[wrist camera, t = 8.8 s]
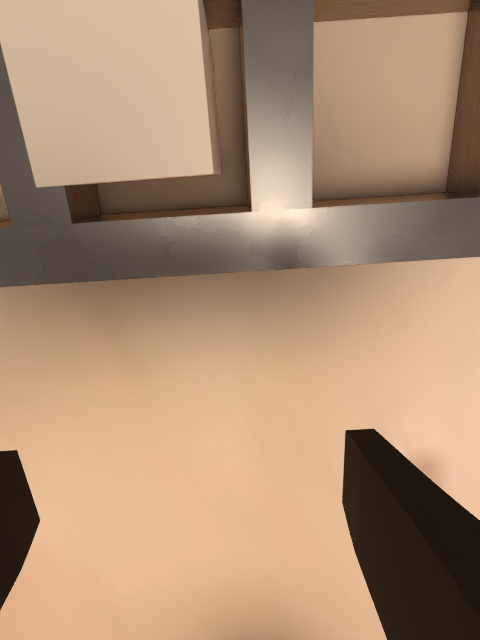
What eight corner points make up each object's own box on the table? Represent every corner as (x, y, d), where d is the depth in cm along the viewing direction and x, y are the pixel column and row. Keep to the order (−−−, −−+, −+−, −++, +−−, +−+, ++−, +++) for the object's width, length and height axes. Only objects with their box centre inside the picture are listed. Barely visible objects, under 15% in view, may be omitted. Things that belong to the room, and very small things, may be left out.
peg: (121, 182, 15) (36, 187, 9) (101, 63, 14) (-20, -38, 7) (222, 174, 15) (213, 173, 9) (212, 55, 14) (192, -56, 7)
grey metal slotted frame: (-123, 278, 16) (-197, 299, 13) (-243, -14, 13) (-379, -67, 10) (487, 239, 16) (540, 252, 13) (539, -68, 13) (627, -138, 10)
